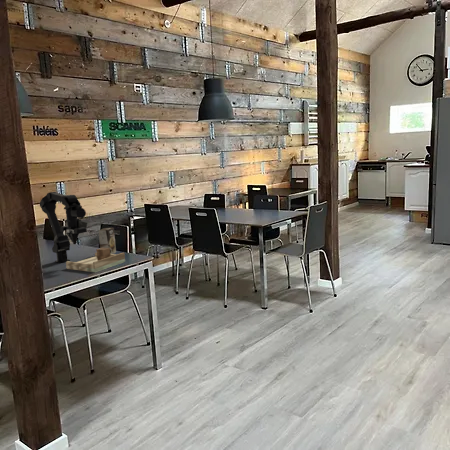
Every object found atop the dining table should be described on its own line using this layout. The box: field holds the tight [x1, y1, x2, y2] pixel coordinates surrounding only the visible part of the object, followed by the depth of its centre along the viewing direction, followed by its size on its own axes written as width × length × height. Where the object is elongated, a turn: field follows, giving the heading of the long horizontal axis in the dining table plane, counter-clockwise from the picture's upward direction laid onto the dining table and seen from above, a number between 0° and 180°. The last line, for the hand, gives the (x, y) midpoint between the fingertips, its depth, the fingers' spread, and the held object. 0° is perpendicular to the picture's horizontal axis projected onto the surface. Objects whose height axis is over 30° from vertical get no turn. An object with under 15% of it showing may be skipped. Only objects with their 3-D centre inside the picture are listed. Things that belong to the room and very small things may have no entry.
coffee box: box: [98, 227, 117, 254], centre depth 283 cm, size 9×6×16 cm
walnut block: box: [96, 247, 110, 260], centre depth 253 cm, size 5×5×8 cm
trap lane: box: [65, 251, 126, 273], centre depth 257 cm, size 22×23×6 cm
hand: (75, 244), depth 259 cm, fingers closed
